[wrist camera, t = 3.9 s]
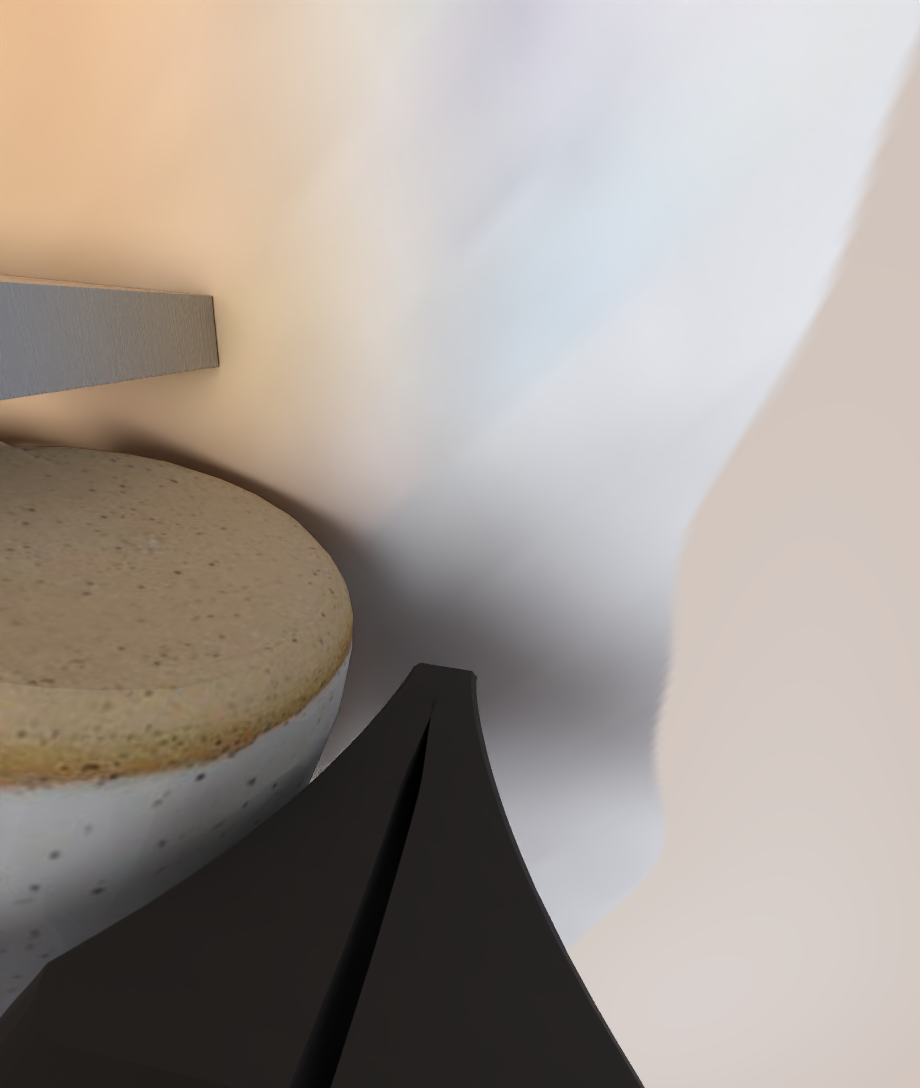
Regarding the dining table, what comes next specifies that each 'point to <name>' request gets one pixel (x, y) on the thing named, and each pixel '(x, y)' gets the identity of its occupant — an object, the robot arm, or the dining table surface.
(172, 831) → the ceramic mug
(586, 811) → the dining table surface
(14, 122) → the dining table surface
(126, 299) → the grey u-shaped piece
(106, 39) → the dining table surface
